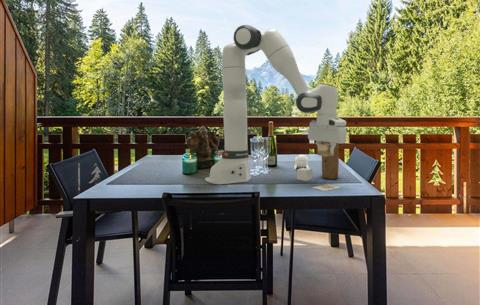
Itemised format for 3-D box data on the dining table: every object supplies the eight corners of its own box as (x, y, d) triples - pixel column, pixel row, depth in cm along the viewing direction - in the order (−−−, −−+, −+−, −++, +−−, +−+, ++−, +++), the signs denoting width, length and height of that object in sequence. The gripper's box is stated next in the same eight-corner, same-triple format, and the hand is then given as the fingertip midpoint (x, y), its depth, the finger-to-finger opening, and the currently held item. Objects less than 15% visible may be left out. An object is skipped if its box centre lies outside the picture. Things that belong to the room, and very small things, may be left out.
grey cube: (306, 181, 177) (306, 170, 176) (296, 179, 180) (297, 169, 179) (311, 179, 180) (311, 169, 180) (302, 178, 184) (302, 167, 183)
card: (324, 191, 156) (324, 190, 156) (312, 188, 162) (312, 187, 162) (340, 187, 162) (340, 186, 162) (328, 184, 167) (328, 184, 167)
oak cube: (325, 156, 166) (326, 145, 166) (317, 155, 170) (317, 144, 170) (333, 155, 169) (333, 144, 168) (325, 154, 173) (325, 143, 172)
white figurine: (293, 172, 213) (293, 167, 199) (293, 158, 215) (293, 151, 201) (308, 172, 212) (310, 167, 198) (308, 158, 214) (310, 151, 200)
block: (338, 179, 178) (339, 137, 176) (322, 179, 179) (323, 137, 176) (335, 175, 189) (336, 135, 186) (320, 175, 190) (321, 135, 187)
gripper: (305, 120, 174) (304, 149, 176) (339, 122, 158) (338, 154, 159) (315, 119, 178) (314, 148, 180) (349, 121, 161) (348, 153, 163)
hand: (325, 151), depth 169 cm, fingers closed on oak cube, 5 cm apart
